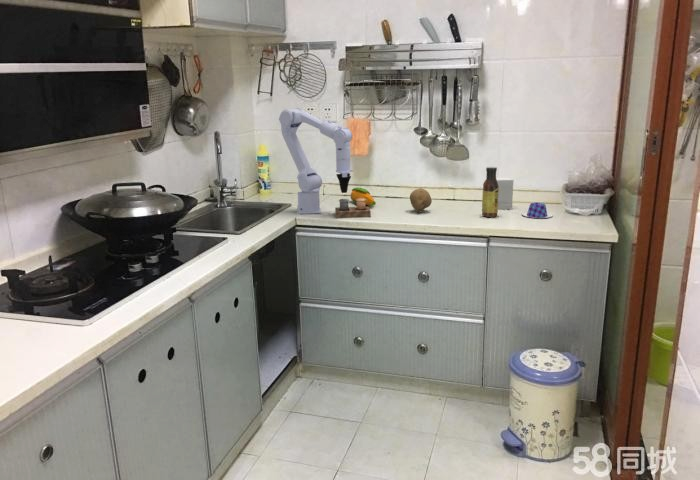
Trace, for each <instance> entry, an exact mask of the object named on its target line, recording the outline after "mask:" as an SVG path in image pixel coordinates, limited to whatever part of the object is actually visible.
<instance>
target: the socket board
mask: <svg viewBox="0 0 700 480" xmlns="http://www.w3.org/2000/svg"><path fill="white" fill-rule="evenodd" d="M334 208H335V209H334V212H335V217H336V219H347V218H349V219H350V218H351V219H352V218H353V219H354V218H356V219H357V218H371V217H372V216H371V215H372V213H371V212H372V211H371V208H370V207H369V205H368V206H365V209H364V210H358V209H357V206H349V209H348V210H340V206H339V207H334Z"/></svg>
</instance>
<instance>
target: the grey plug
mask: <svg viewBox="0 0 700 480" xmlns="http://www.w3.org/2000/svg"><path fill="white" fill-rule="evenodd" d="M338 202H339V207H340V210H348V209H349V207H350V206H349V202H350V200H349V198H341V199H338Z"/></svg>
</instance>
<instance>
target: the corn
mask: <svg viewBox="0 0 700 480" xmlns="http://www.w3.org/2000/svg"><path fill="white" fill-rule="evenodd" d="M359 198H364V199H366V201H365V206H366V205H368V206H375V205H376V203H377V202H376V201H375V199H374V197H373V196H372V195H371V193H370V192H369V190H367V189H366V188H362V187H354V188H352V190H351V193H350V199H351V200H352V202H354V203H355V204H357V201H356V199H359Z"/></svg>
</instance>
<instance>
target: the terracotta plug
mask: <svg viewBox="0 0 700 480" xmlns="http://www.w3.org/2000/svg"><path fill="white" fill-rule="evenodd" d="M356 201H357V203H356V207H357V209H358V210H364V209H365V207H366V205H365V201H366V199H364V198H359V199H356Z"/></svg>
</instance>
